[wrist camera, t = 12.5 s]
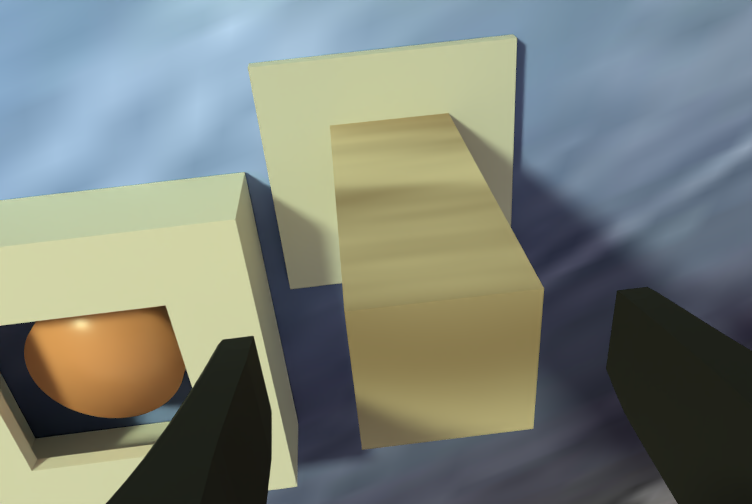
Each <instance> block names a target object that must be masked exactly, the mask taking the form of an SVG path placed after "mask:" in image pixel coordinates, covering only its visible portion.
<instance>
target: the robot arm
mask: <svg viewBox="0 0 752 504" xmlns="http://www.w3.org/2000/svg"><path fill="white" fill-rule="evenodd" d="M606 369H607V372H608V374H609V377H610V379H611V382H612V384H613V387H614V389H615V392H616V394H617V397H618V399H619V401H620V403H621V406H622V408H623V410H624V413H625V414H626V416H627V418H628V420H629V422H630V423H631V425H632V427H633V429H634V430H635V432H636V434H637V435H638V437H639V439H640V441H641V442H642V444H643V446H644V447H645V449H646V451H647V453H648V454H649V456H650V458H651V459H652V461H653V463H654V464H655V466H656V468H657V469H658V471H659V473H660V474H661V476H662V478H663V480H664V481H665V483H666V485H667V486H668V488H669V490H670V491H671V493H672V495H673V496H674V498H675V500H676V501H677V503H678V504H752V351H751V350H749V349H748V348H746V347H744V346H743V345H741V344H739V343H737V342H736V341H734V340H733V339H731V338H729V337H728V336H726V335H724V334H723V333H721V332H719V331H718V330H716V329H715V328H713V327H711V326H710V325H708V324H707V323H705V322H704V321H702V320H700V319H699V318H697V317H696V316H694V315H692V314H691V313H689V312H688V311H686V310H685V309H683V308H681V307H680V306H678V305H677V304H675V303H673V302H672V301H670V300H669V299H667V298H665V297H664V296H662V295H661V294H659V293H657V292H655V291H654V290H652V289H650V288H648V287H643V288H634V289H626V290H618V291H617V295H616V302H615V309H614V316H613V323H612V330H611V337H610V344H609V352H608V359H607V366H606ZM271 460H272V410H271V406H270V402H269V398H268V394H267V389H266V385H265V381H264V377H263V373H262V369H261V364H260V360H259V356H258V352H257V348H256V344H255V339H254V336H247V337H239V338H231V339H223V340H222V341H221V342H220V343H219V344H218V345H217V347H216V349H215V351H214V352H213V354H212V356H211V358H210V359H209V361H208V363H207V365H206V366H205V368H204V370H203V371H202V373H201V375H200V376H199V378H198V380H197V381H196V383H195V385H194V386H193V388H192V389H191V391H190V393H189V394H188V396H187V397H186V399H185V400H184V402H183V403H182V405H181V406H180V408H179V409H178V411H177V412H176V414H175V415H174V417H173V419H172V420H171V421H170V423H169V424H168V426H167V427H166V429H165V430H164V431H163V433H162V434H161V435H160V437H159V438H158V439H157V441H156V442H155V443H154V445H153V446H152V448H151V449H150V450H149V452H148V453H147V454H146V456H145V457H144V458H143V460H142V461H141V462H140V463H139V465H138V466H137V467H136V468H135V470H134V471H133V472H132V473H131V475H130V476H129V477H128V478H127V480H126V481H125V482H124V483H123V484H122V485H121V487H120V488H119V489H118V490H117V491H116V492H115V493H114V495H113V496H112V497H111V498H110V499H109V500H108V502H107V503H106V504H266V502H267V494H268V486H269V478H270V469H271Z"/></svg>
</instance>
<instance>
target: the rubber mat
mask: <svg viewBox="0 0 752 504" xmlns="http://www.w3.org/2000/svg"><path fill="white" fill-rule="evenodd" d="M516 52H517V38H516V37H515V36H514V35H504V36H495V37H486V38H477V39H468V40H459V41H449V42H440V43H431V44H422V45H413V46H404V47H395V48H386V49H377V50H368V51H359V52H350V53H340V54H331V55H322V56H313V57H304V58H295V59H286V60H277V61H268V62H259V63H250V64H249V65H248V71H249V76H250V81H251V86H252V92H253V97H254V102H255V107H256V113H257V118H258V123H259V128H260V133H261V139H262V144H263V149H264V154H265V159H266V165H267V170H268V175H269V180H270V186H271V191H272V196H273V201H274V206H275V212H276V217H277V222H278V227H279V233H280V238H281V243H282V248H283V253H284V259H285V264H286V269H287V274H288V279H289V285H290V289H297V288H305V287H314V286H322V285H330V284H338V283H342V274H341V262H340V249H339V236H338V224H337V211H336V198H335V186H334V173H333V160H332V147H331V135H330V125H340V124H349V123H359V122H368V121H378V120H387V119H397V118H406V117H416V116H425V115H435V114H444V113H449V115H450V117H451V119H452V120H453V122H454V124H455V126H456V128H457V130H458V131H459V133H460V135H461V137H462V139H463V141H464V142H465V144H466V146H467V148H468V150H469V152H470V154H471V155H472V157H473V159H474V161H475V163H476V165H477V166H478V168H479V170H480V172H481V174H482V176H483V177H484V179H485V181H486V183H487V185H488V187H489V188H490V190H491V192H492V194H493V196H494V198H495V199H496V201H497V203H498V205H499V207H500V209H501V210H502V212H503V214H504V216H505V218H506V220H507V221H508V223H509V225H510V227H511V209H512V178H513V146H514V115H515V83H516Z"/></svg>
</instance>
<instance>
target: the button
mask: <svg viewBox="0 0 752 504" xmlns="http://www.w3.org/2000/svg"><path fill="white" fill-rule="evenodd" d="M24 358H25V363H26V366H27V369H28V371H29V374H30V375H31V377H32V379H33V380H34V382H35V383H36V384H37V385H38V387H39V388H40V389H41V390H42V391H43V392H44V393H45V394H47V395H48V396H49V397H51V398H52V399H53V400H55V401H56V402H58V403H60V404H61V405H63V406H65V407H67V408H69V409H72V410H74V411H77V412H80V413H83V414H87V415H91V416H96V417H104V418H126V417H133V416H138V415H142V414H145V413H148V412H150V411H153V410H155V409H157V408H159V407H160V406H162V405H163V404H165V403H166V402H168V401H169V400H170V399H171V398H172V397H173V396H174V394H175V393H176V392H177V390H178V389H179V387H180V385H181V383H182V380H183V376H184V372H185V368H186V367H185V364H184V361H183V357H182V354H181V351H180V348H179V345H178V342H177V339H176V336H175V333H174V330H173V327H172V324H171V320H170V317H169V314H168V311H167V308H166V305H165V306H157V307H149V308H141V309H132V310H124V311H116V312H108V313H99V314H91V315H83V316H75V317H66V318H58V319H50V320H42V321H36V322H35V324H34V326H33V327H32V329H31V331H30V332H29V334H28V336H27V339H26V342H25V348H24Z"/></svg>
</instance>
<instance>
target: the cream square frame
mask: <svg viewBox="0 0 752 504" xmlns="http://www.w3.org/2000/svg"><path fill="white" fill-rule="evenodd" d="M165 305H166V308H167V311H168V314H169V317H170V320H171V324H172V327H173V330H174V333H175V336H176V339H177V342H178V345H179V348H180V351H181V354H182V357H183V361H184V364H185V367H186V370H187V373H188V376H189V379H190V382H191V385H192V388H193V386H194V385H195V383H196V381H197V380H198V378H199V376H200V375H201V373H202V371H203V370H204V368H205V366H206V365H207V363H208V361H209V359H210V358H211V356H212V354H213V352H214V351H215V349H216V347H217V345H218V344H219V343H220V342H221V341H222V340H223V339H231V338H239V337H247V336H254V339H255V344H256V348H257V352H258V356H259V360H260V364H261V369H262V373H263V377H264V381H265V385H266V389H267V394H268V398H269V402H270V406H271V410H272V460H271V469H270V478H269V486H268V490H274V489H282V488H290V487H297V465H298V420H297V415H296V411H295V406H294V401H293V397H292V392H291V387H290V382H289V378H288V373H287V368H286V364H285V359H284V354H283V350H282V345H281V340H280V335H279V331H278V326H277V321H276V317H275V312H274V307H273V303H272V298H271V293H270V288H269V284H268V279H267V274H266V270H265V265H264V260H263V256H262V251H261V246H260V242H259V237H258V232H257V227H256V223H255V218H254V213H253V209H252V204H251V199H250V195H249V190H248V185H247V180H246V176H245V172H242V173H234V174H225V175H216V176H208V177H199V178H190V179H182V180H173V181H164V182H156V183H147V184H138V185H130V186H121V187H112V188H104V189H95V190H86V191H78V192H69V193H60V194H52V195H43V196H34V197H26V198H17V199H8V200H0V326H1V325H9V324H17V323H25V322H34V321H42V320H50V319H58V318H66V317H75V316H83V315H91V314H99V313H108V312H116V311H124V310H132V309H141V308H149V307H157V306H165ZM169 423H170V421H169V422H161V423H153V424H146V425H138V426H130V427H122V428H114V429H106V430H98V431H90V432H83V433H75V434H67V435H59V436H51V437H43V438H35V437H34V435H33V433H32V431H31V429H30V427H29V425H28V423H27V422H26V420H25V418H24V416H23V414H22V412H21V410H20V408H19V407H18V405H17V403H16V401H15V399H14V397H13V395H12V393H11V392H10V390H9V388H8V386H7V384H6V382H5V380H4V378H3V377H2V375H1V373H0V504H106V503H107V502H108V500H109V499H110V498H111V497H112V496H113V495H114V493H115V492H116V491H117V490H118V489H119V488H120V487H121V485H122V484H123V483H124V482H125V481H126V480H127V478H128V477H129V476H130V475H131V473H132V472H133V471H134V470H135V468H136V467H137V466H138V465H139V463H140V462H141V461H142V460H143V458H144V457H145V456H146V454H147V453H148V452H149V450H150V449H151V448H152V446H153V445H154V443H155V442H156V441H157V439H158V438H159V437H160V435H161V434H162V433H163V431H164V430H165V429H166V427H167V426H168V424H169Z"/></svg>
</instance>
